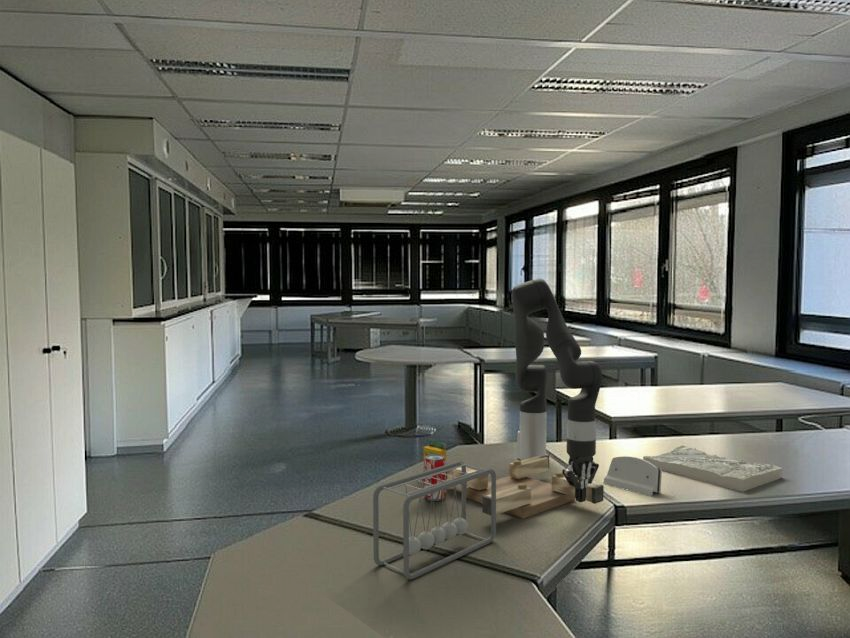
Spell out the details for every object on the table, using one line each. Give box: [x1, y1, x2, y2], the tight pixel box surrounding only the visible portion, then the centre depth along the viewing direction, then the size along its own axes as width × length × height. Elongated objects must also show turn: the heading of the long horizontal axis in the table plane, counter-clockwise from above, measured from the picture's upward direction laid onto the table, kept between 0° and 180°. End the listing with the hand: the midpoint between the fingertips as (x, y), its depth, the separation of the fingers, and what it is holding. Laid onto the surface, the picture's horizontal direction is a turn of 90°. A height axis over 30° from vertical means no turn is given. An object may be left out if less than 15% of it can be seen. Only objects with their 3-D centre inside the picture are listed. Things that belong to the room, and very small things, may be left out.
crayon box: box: [423, 439, 447, 462], centre depth 198 cm, size 7×3×12 cm, turn 47°
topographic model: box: [642, 444, 783, 492], centre depth 205 cm, size 23×34×5 cm
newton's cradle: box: [372, 460, 497, 581], centre depth 142 cm, size 30×10×18 cm, turn 136°
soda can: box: [423, 455, 447, 502], centre depth 180 cm, size 6×6×12 cm
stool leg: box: [551, 471, 605, 505], centre depth 173 cm, size 15×4×5 cm, turn 40°
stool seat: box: [446, 454, 576, 519], centre depth 183 cm, size 32×44×8 cm
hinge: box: [603, 455, 663, 497], centre depth 189 cm, size 17×5×10 cm, turn 41°
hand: (580, 501), depth 167 cm, fingers closed
